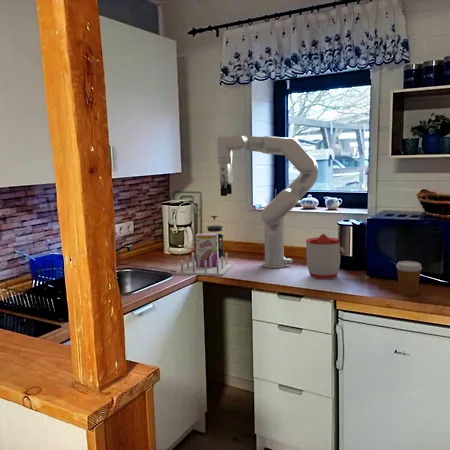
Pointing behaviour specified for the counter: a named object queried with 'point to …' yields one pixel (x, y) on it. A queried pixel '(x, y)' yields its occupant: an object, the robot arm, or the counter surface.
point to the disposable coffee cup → (408, 276)
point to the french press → (220, 236)
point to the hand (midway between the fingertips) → (226, 194)
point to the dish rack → (193, 270)
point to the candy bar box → (206, 249)
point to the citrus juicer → (323, 257)
